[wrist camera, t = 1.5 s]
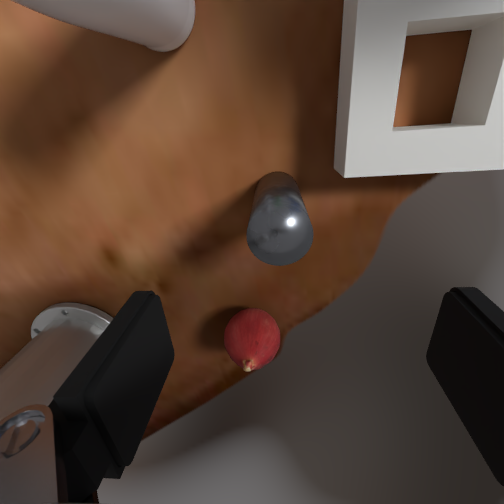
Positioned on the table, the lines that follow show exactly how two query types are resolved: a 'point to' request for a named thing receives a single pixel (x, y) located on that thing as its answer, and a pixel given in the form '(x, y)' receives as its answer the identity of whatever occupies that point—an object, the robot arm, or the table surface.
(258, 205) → the metal peg
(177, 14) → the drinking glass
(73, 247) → the table surface
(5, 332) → the table surface
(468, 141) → the socket block
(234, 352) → the onion
